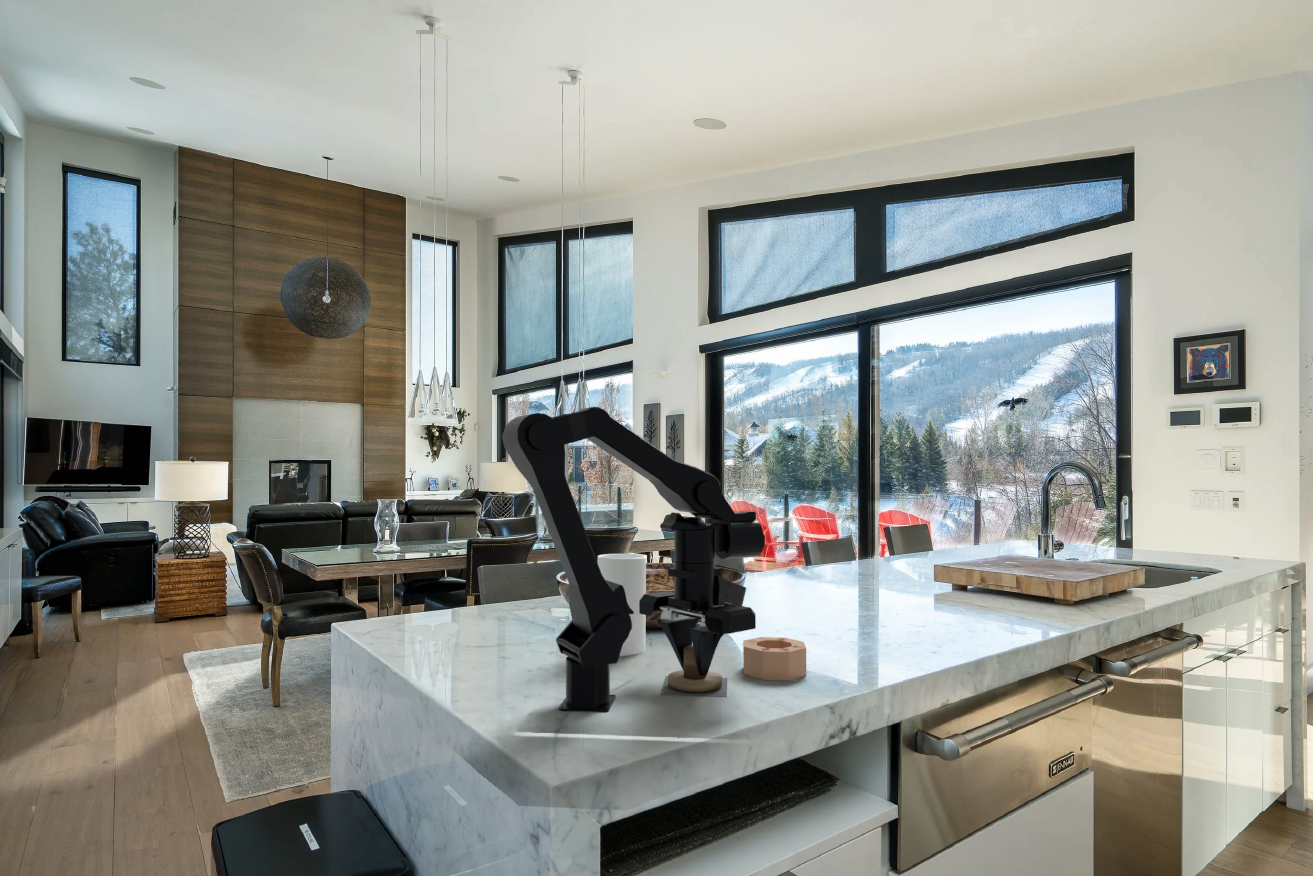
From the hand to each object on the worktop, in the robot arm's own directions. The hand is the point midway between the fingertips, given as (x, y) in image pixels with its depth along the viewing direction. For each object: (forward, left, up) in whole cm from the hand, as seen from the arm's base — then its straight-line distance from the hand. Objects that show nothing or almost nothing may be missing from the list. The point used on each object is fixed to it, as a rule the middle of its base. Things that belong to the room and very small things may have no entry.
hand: (694, 672), depth 106 cm
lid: (0, 0, -2) cm, 2 cm away
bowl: (+9, -12, -2) cm, 15 cm away
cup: (+20, +13, -2) cm, 24 cm away
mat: (0, 0, -2) cm, 2 cm away
